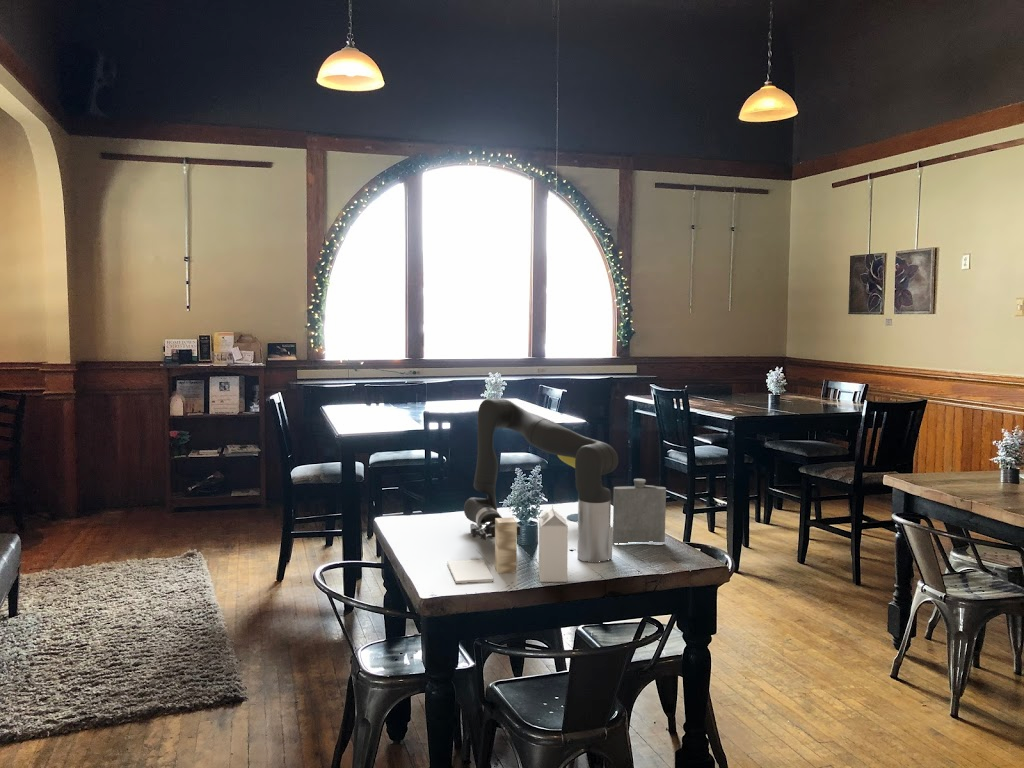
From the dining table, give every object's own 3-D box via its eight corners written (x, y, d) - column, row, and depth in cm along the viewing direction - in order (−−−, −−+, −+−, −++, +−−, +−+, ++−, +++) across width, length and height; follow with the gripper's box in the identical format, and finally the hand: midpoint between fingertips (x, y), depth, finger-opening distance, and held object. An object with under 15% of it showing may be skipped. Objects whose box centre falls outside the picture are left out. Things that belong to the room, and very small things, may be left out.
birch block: (512, 566, 236) (513, 517, 235) (516, 572, 231) (516, 522, 230) (494, 567, 235) (495, 518, 234) (498, 573, 230) (498, 522, 229)
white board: (482, 562, 240) (482, 559, 240) (493, 581, 224) (493, 578, 224) (447, 564, 238) (447, 561, 238) (455, 583, 222) (455, 580, 221)
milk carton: (564, 573, 231) (565, 505, 229) (567, 582, 223) (568, 511, 222) (538, 574, 230) (539, 505, 228) (540, 582, 223) (540, 511, 221)
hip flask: (613, 545, 258) (614, 480, 256) (611, 542, 262) (612, 478, 260) (665, 545, 258) (667, 480, 257) (662, 541, 262) (664, 478, 261)
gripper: (466, 510, 256) (474, 524, 240) (512, 508, 258) (524, 522, 243) (466, 535, 256) (474, 550, 240) (512, 532, 259) (524, 547, 243)
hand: (499, 536), depth 241 cm, fingers open, 8 cm apart
